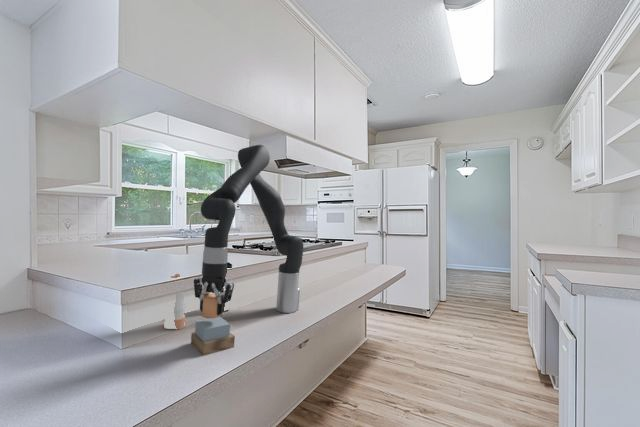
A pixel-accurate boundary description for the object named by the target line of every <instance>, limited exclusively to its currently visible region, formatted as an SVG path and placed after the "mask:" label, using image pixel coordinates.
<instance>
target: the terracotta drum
mask: <svg viewBox="0 0 640 427" xmlns="http://www.w3.org/2000/svg"><path fill="white" fill-rule="evenodd" d="M217 305H218V300H217V297H215V293H213V294H209V295H205V296H204V297H203V311H202V312H201V316H202V318H204V319H212V318H218V317H221V315H217Z"/></svg>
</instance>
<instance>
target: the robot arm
mask: <svg viewBox="0 0 640 427" xmlns="http://www.w3.org/2000/svg"><path fill="white" fill-rule="evenodd" d="M237 160H238V164H239V166H240V168H239V169H237V170H236V171H234V172H233V173H232V174H230V176H228V178H227V179H226V180H225V181H224V183H223V184H222V185H221V186H220V187H219V188H218V189H216V190H215V191H213V192H211V193H210V194H209V195H208V196H206V197H205V198H204V200H203V201H202V202H201V205H200V214H201V216H202V217H203V218H205V219H206V220H210V221H211V220H212V221H219V222H218V224H217V226H213V227H209V228H206V230H205V234H204V246H203V250H202V251H203V252H202V267H201V275H202V277H197V278H194V279H193V287H194V288H193V289H194V297H195V298H198V299H199V310H200V312H201V313H202V311H203V297H204V296H205V295H210V293H213V294H215V297H217V300H218V305H217V315H223V313H225V312H224V307H225V303H226V302H228V301H230V302H231V300H232V297H233V291H234V289H235V284H234V282H231V283H228V282H226V279H225V277H226V274H227V262H228V256H229V255H228V254H229V253H228V252H229V251H228V243H229V234H230V231H231V226H232V223H233V220H234V218H235V216H236V205H235V204H236V203H237V202H238V200H239V199H240V198H241V196H242V194H244V192H245V190H246V189H247V188H248V186H249V185H250V186H251V188H252V190H253V192H254V195H255V196H256V198H257V201H258V203H259V207H260V209H261V211H262V213H263V215H264V218H265V220H266V222H267V224H268V227H269V229H270V231H271V234H272V238H273V240H274V244H275V247H276V250H277V251H278V253H279V254H280V255H282V256H286V259H285V261H284V262H283V263H280V264H279V266H278V276H277V278H278V279H277V290H276V307H275V310H276V311H277V312H279V313H285V314H288V313H289V314H291V313H294V312H295V313H296V312H297V311H299V310H300V309H299V308H300V297H301V296H300V295H301V294H300V293H301V289H300V288H299V286H300V284H299V283H300V282H299V281H300V269H301V266H302V263H303V256H304V242H303V240H302V238H301V237H299V236H296V235H290V234H289V233H288V231H287V228H286V226H285V216H286V215H285V214H286V211H285V210H286V208H285V205H284V201H283V200H282V196H280V192H278V191H277V190H276V189H275V188H274V187H273V186H272V185H271V184H269V183H268V182H266V180H264V178H263V177H262V176H261V174H260V173H261V172H263V170H265V169H266V168H267V166H268V165H269V163H270V160H271V158H270V153H269V150H268V148H267V147H266V146H265V145H263V144H256V145H252V146H247V147H244V148H241V149H239V150H238V153H237ZM224 286H225V289H226V290H225V291H224V288H223V287H224ZM219 292H220V293H219Z"/></svg>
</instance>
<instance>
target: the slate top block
mask: <svg viewBox="0 0 640 427" xmlns="http://www.w3.org/2000/svg"><path fill="white" fill-rule="evenodd" d="M194 327H195V329H194V330H195V331H194V332H195V333H196V334H197V335H198V336H199V337H200V338H201V339H202V340H203V341H204V342H208V341H212V340H216V339H221V338H225V337H229V332H230V330H231V324H230V322H227V320H225V319H224V318H222V317H221V316H220V317H218V318H212V319H208V318H204V319H198V320H195V326H194Z"/></svg>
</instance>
